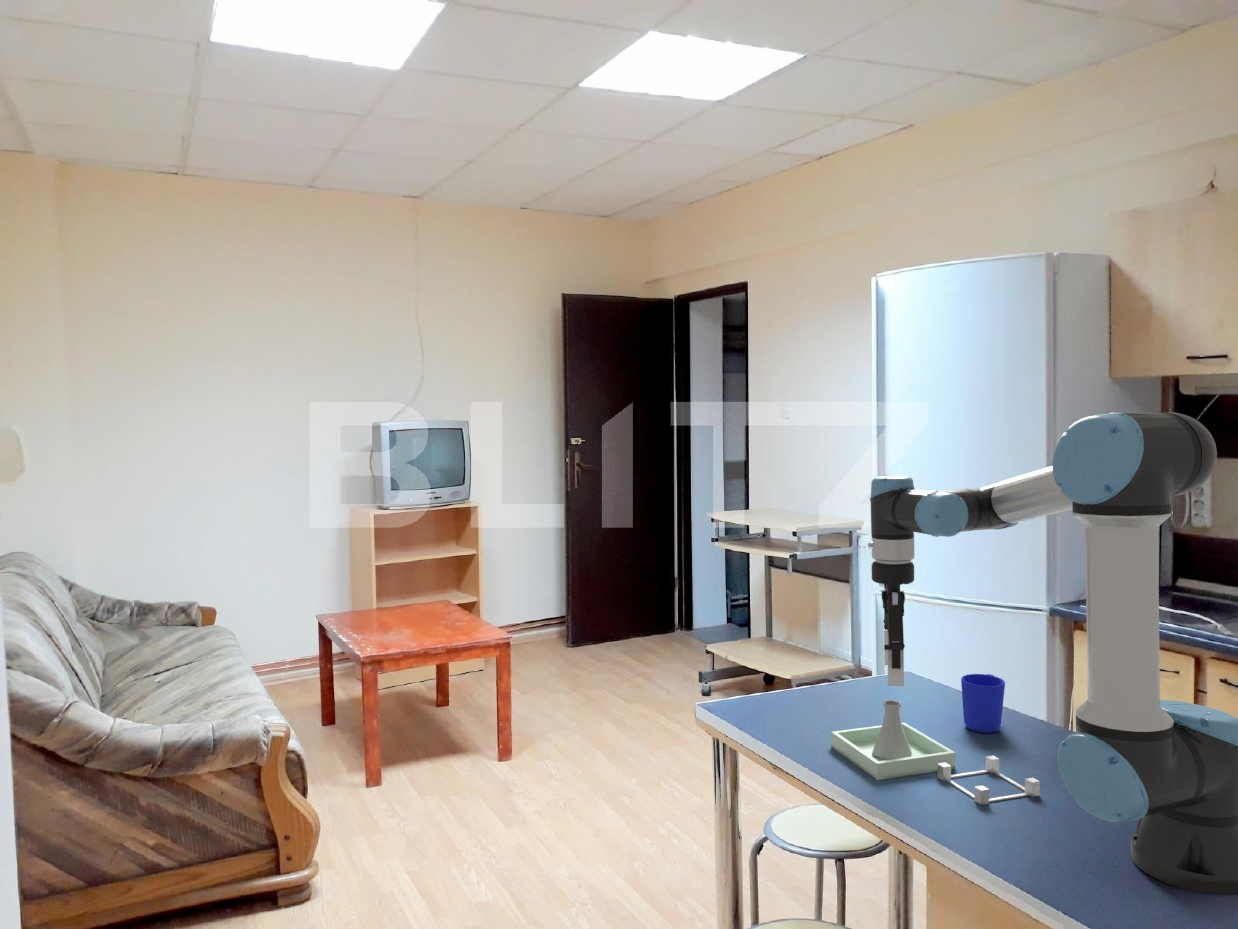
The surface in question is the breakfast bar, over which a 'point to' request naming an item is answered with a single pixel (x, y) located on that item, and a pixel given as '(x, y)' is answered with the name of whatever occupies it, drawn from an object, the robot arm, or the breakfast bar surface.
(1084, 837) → the breakfast bar surface
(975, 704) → the mug
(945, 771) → the socket
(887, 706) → the flask
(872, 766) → the bin
